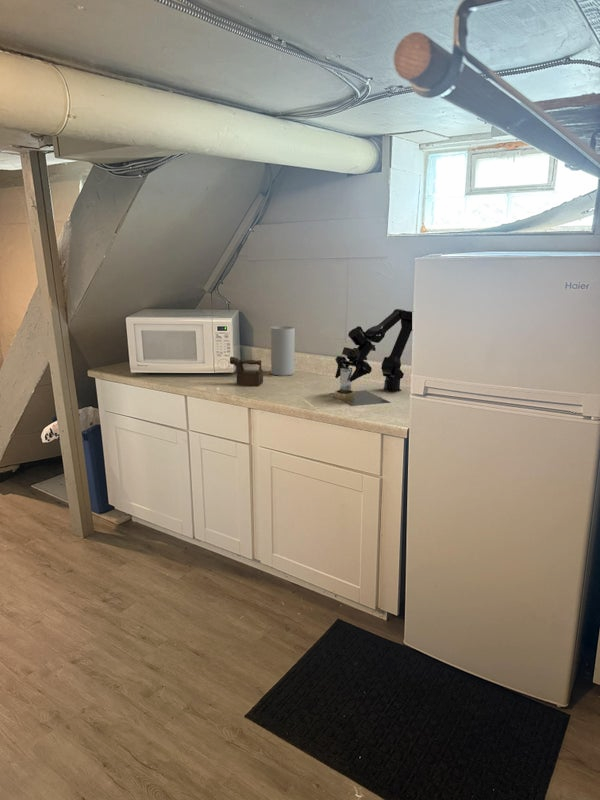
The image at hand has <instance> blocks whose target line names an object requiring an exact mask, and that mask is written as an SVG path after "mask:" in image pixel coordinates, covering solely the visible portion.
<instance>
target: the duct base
mask: <svg viewBox="0 0 600 800" xmlns="http://www.w3.org/2000/svg"><path fill="white" fill-rule="evenodd" d="M339 392H340V389H337V390H335V391H334V392H330V393H328V395H331V396H332V397H334V398H336V399H338V400H339V401H341V402H343V403H345V404H346V405H348V406H350V407H356V406H358V407H359V406H369V405H377V404H378V405H379V404H380V405H381V404H391V403H392V402H391V401H388V400H386V399H384V398H383V397H380V396H379V395H377V394H375V393H372V392H371V391H368V390H355V391H354V390H352V389H351V393H348V394H344V393H339Z"/></svg>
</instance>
